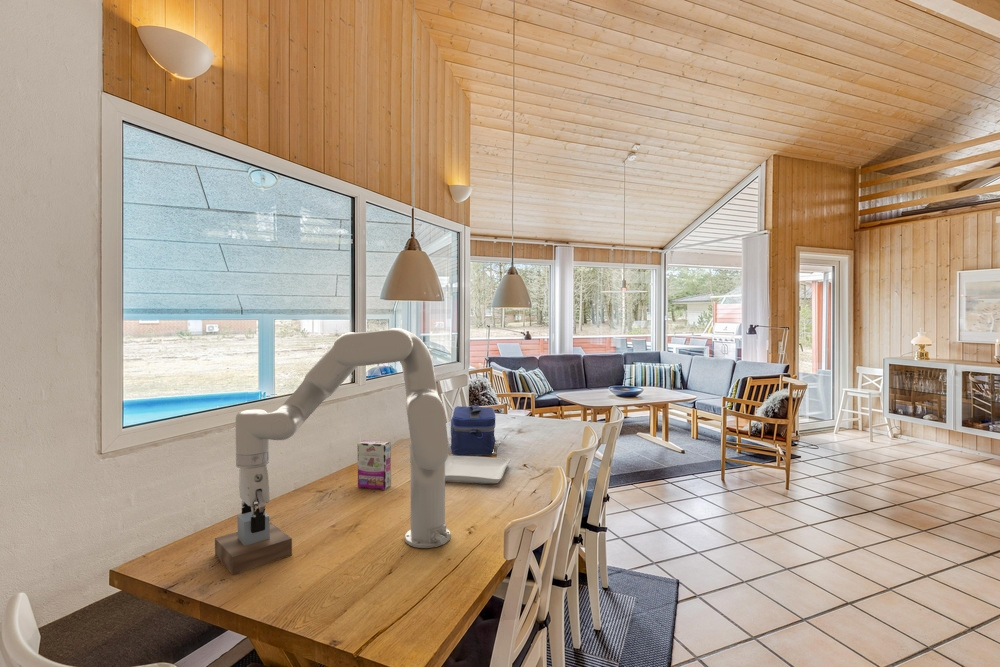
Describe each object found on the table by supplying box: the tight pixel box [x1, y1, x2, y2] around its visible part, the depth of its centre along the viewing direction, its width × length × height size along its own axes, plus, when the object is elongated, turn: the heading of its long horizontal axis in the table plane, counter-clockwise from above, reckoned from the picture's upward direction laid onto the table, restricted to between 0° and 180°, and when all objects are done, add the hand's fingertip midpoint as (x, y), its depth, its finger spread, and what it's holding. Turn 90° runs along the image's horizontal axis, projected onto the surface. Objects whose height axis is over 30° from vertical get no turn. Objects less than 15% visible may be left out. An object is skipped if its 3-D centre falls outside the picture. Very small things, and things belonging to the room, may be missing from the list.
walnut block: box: [214, 521, 293, 576], centre depth 126 cm, size 14×14×5 cm
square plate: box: [445, 455, 511, 485], centre depth 193 cm, size 27×27×4 cm
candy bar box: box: [357, 440, 392, 491], centre depth 178 cm, size 11×5×16 cm, turn 76°
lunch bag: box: [450, 404, 496, 456], centre depth 231 cm, size 31×21×20 cm
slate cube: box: [236, 511, 270, 546], centre depth 126 cm, size 6×6×6 cm
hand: (253, 525), depth 126 cm, fingers open, 7 cm apart
